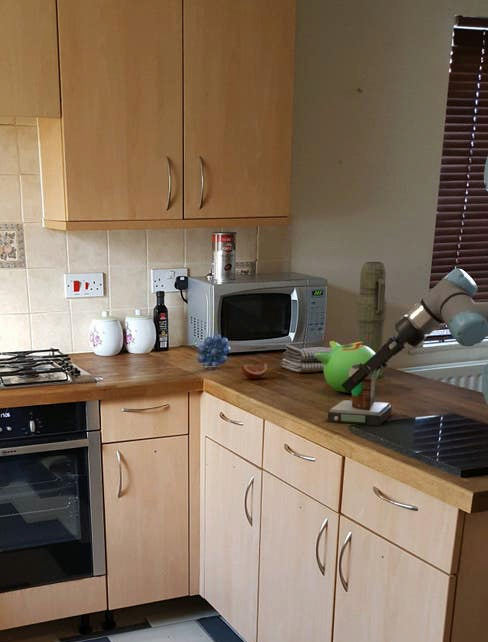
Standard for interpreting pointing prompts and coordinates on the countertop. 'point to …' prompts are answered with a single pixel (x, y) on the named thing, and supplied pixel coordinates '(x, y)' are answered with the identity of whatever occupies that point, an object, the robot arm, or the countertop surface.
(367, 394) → the food container
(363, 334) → the thermos
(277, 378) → the countertop surface
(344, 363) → the toy bird
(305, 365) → the towel
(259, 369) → the fruit slice
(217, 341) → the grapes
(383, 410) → the kitchen scale
